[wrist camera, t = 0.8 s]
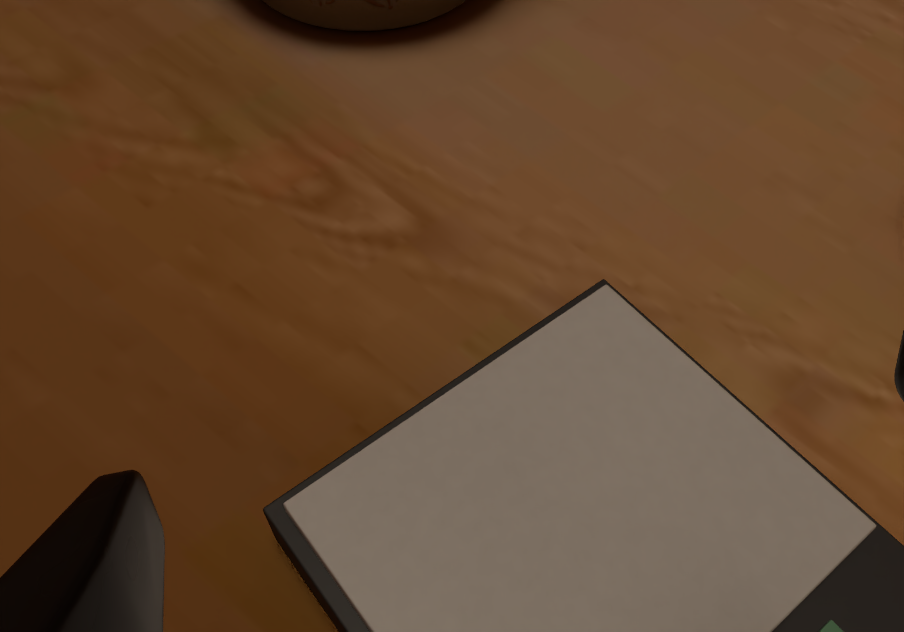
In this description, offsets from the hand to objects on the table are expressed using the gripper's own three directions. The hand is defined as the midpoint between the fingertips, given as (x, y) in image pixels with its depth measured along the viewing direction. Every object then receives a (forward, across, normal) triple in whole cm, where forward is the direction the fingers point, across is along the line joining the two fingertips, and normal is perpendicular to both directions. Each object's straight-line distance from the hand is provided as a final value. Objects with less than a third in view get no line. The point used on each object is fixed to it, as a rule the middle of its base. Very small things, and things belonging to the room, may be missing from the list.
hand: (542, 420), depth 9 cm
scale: (+10, -4, +14) cm, 18 cm away
